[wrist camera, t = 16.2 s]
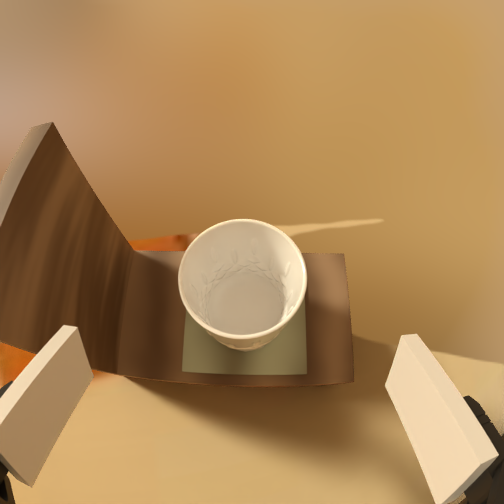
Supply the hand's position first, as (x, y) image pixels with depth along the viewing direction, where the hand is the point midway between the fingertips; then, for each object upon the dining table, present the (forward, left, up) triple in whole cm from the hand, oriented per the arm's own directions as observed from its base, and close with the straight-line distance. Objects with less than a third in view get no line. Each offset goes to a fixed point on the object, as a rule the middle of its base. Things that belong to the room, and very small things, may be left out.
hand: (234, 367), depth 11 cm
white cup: (0, -6, -15) cm, 17 cm away
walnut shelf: (+2, -6, -22) cm, 23 cm away
